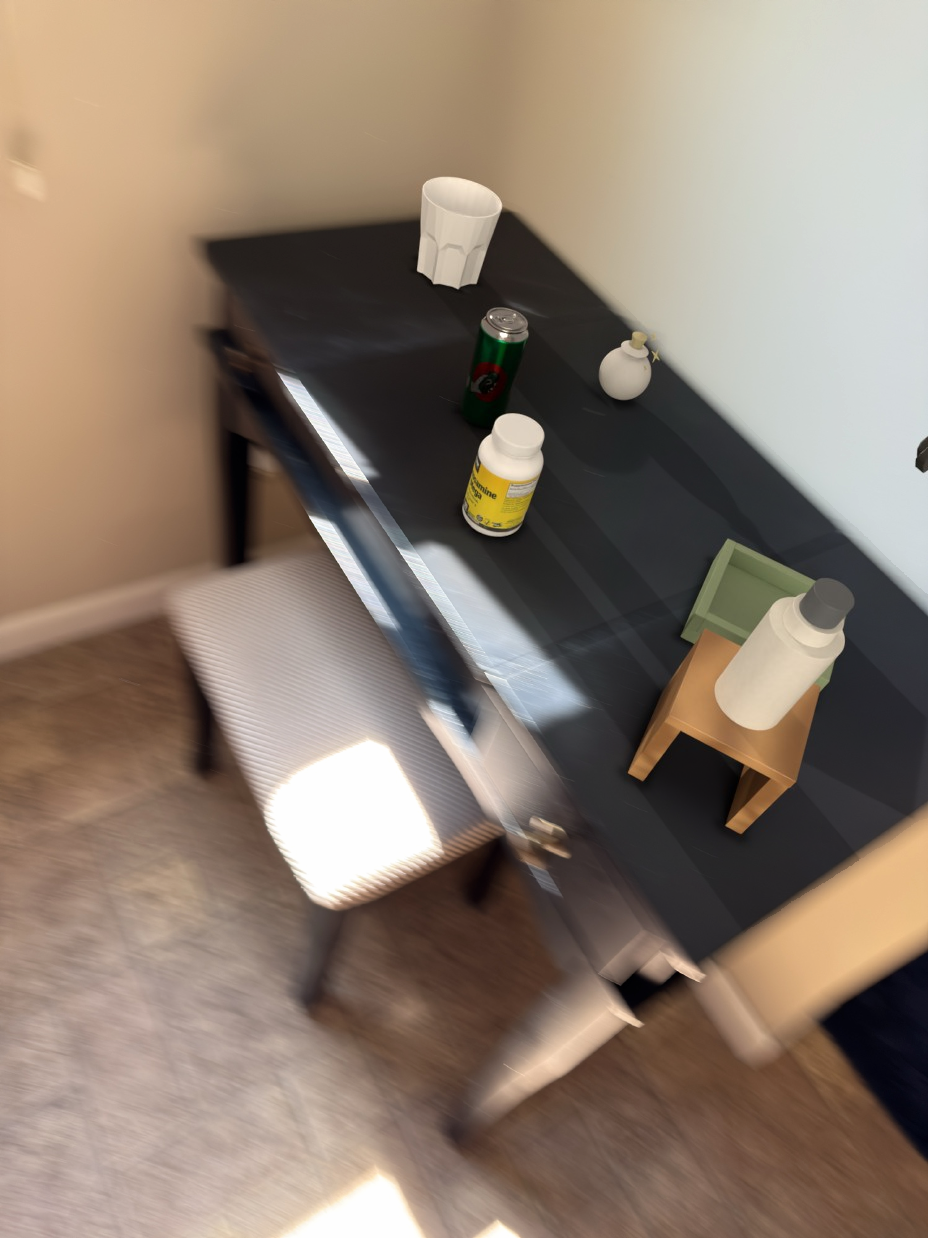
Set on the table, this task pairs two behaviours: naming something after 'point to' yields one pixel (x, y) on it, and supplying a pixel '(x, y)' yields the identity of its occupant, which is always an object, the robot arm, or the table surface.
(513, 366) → the soda can
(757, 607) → the sage green tray
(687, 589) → the table surface
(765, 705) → the white bottle
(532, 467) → the pill bottle
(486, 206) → the cup
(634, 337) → the round potion bottle
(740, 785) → the wooden stand
